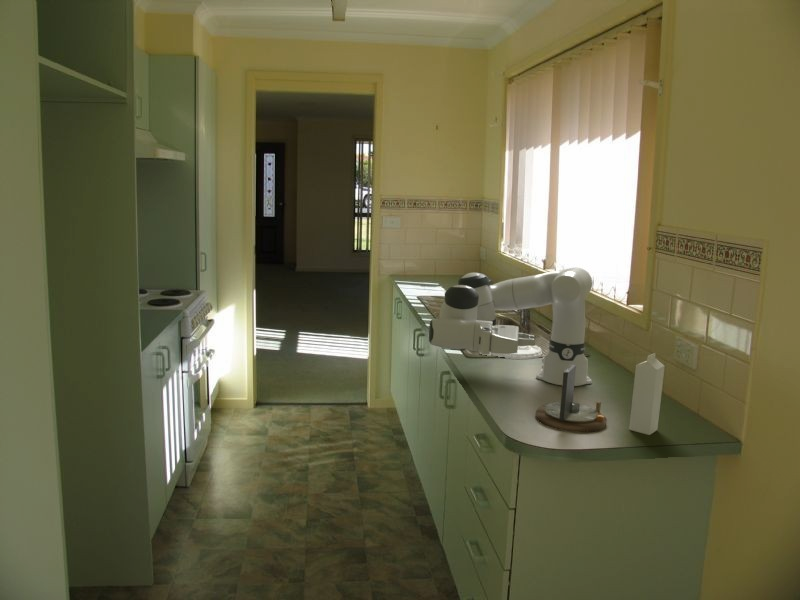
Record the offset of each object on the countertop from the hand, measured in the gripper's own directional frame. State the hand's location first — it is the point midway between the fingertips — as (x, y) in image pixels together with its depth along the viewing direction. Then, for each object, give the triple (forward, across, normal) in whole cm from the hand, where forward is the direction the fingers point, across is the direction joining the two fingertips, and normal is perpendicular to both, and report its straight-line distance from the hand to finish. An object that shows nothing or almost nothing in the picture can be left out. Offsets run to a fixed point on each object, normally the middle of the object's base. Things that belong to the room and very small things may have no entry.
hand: (535, 340), depth 201 cm
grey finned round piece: (+12, -4, -22) cm, 26 cm away
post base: (+12, -6, -24) cm, 28 cm away
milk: (+32, -4, -24) cm, 40 cm away
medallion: (-8, -83, -25) cm, 87 cm away
